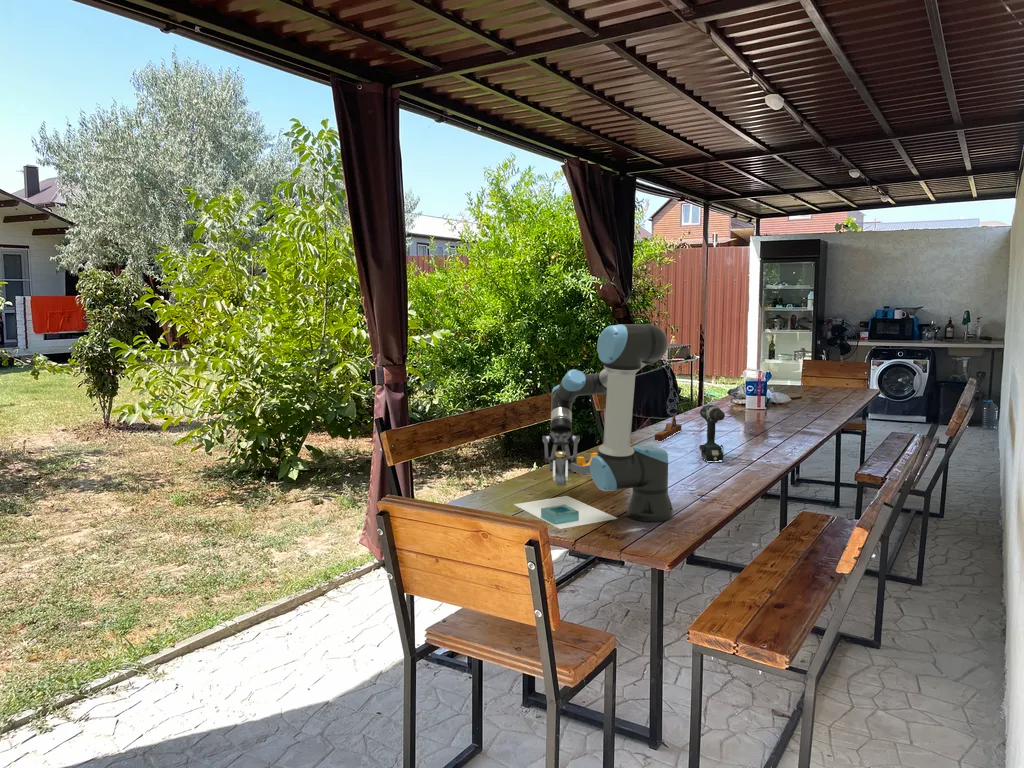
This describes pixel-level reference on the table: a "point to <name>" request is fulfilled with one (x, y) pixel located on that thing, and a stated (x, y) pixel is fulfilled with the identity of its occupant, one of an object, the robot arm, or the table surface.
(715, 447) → the power drill
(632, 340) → the robot arm
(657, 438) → the hand plane
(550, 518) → the teal square frame
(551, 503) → the board
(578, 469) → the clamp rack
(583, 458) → the pipe clamp
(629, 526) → the table surface
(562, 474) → the gold capped grey cylinder
